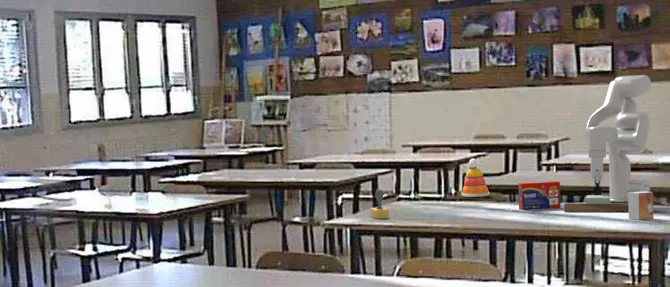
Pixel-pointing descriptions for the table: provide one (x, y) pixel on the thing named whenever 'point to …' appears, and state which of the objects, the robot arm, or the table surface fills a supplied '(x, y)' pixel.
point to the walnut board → (595, 207)
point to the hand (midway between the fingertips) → (597, 195)
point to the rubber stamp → (379, 207)
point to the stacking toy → (474, 182)
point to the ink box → (637, 186)
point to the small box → (640, 205)
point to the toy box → (539, 195)
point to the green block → (598, 199)
